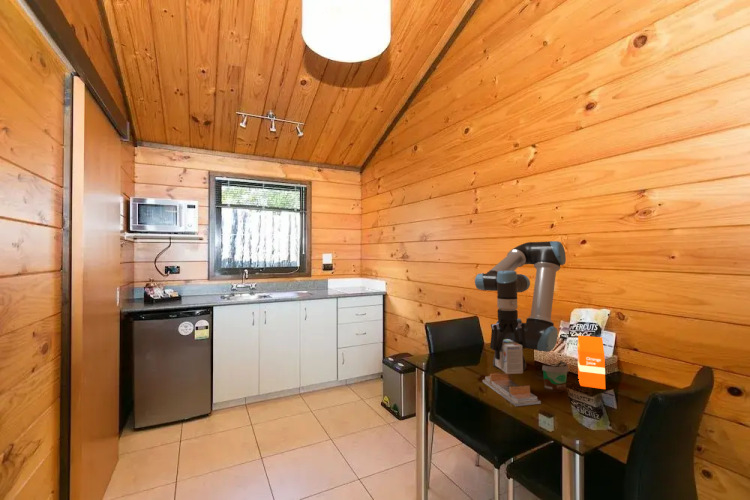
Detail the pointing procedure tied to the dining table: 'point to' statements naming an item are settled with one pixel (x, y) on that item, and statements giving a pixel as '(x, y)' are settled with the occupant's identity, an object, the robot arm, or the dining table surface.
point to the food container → (555, 376)
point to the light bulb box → (511, 357)
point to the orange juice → (591, 362)
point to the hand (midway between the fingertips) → (508, 366)
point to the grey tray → (511, 390)
